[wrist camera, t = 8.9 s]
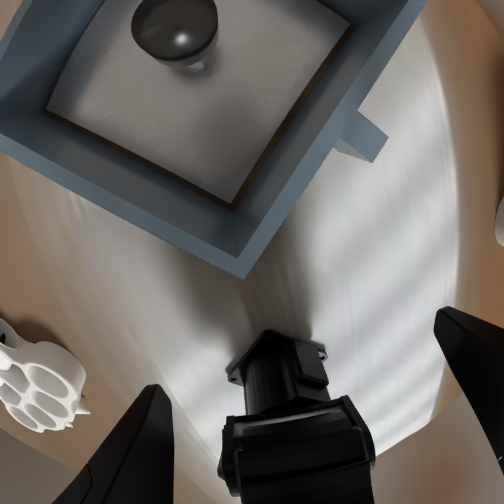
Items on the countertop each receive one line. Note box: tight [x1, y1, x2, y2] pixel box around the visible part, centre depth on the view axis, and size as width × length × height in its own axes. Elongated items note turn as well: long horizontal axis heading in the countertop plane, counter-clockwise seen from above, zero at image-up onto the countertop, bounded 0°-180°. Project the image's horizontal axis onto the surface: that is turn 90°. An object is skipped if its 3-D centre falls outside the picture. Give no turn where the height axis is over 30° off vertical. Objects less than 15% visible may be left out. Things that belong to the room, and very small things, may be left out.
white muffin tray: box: [0, 318, 91, 433], centre depth 23 cm, size 3×18×15 cm
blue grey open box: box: [0, 0, 428, 280], centre depth 11 cm, size 15×17×6 cm
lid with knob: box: [46, 0, 350, 204], centre depth 10 cm, size 13×13×6 cm
